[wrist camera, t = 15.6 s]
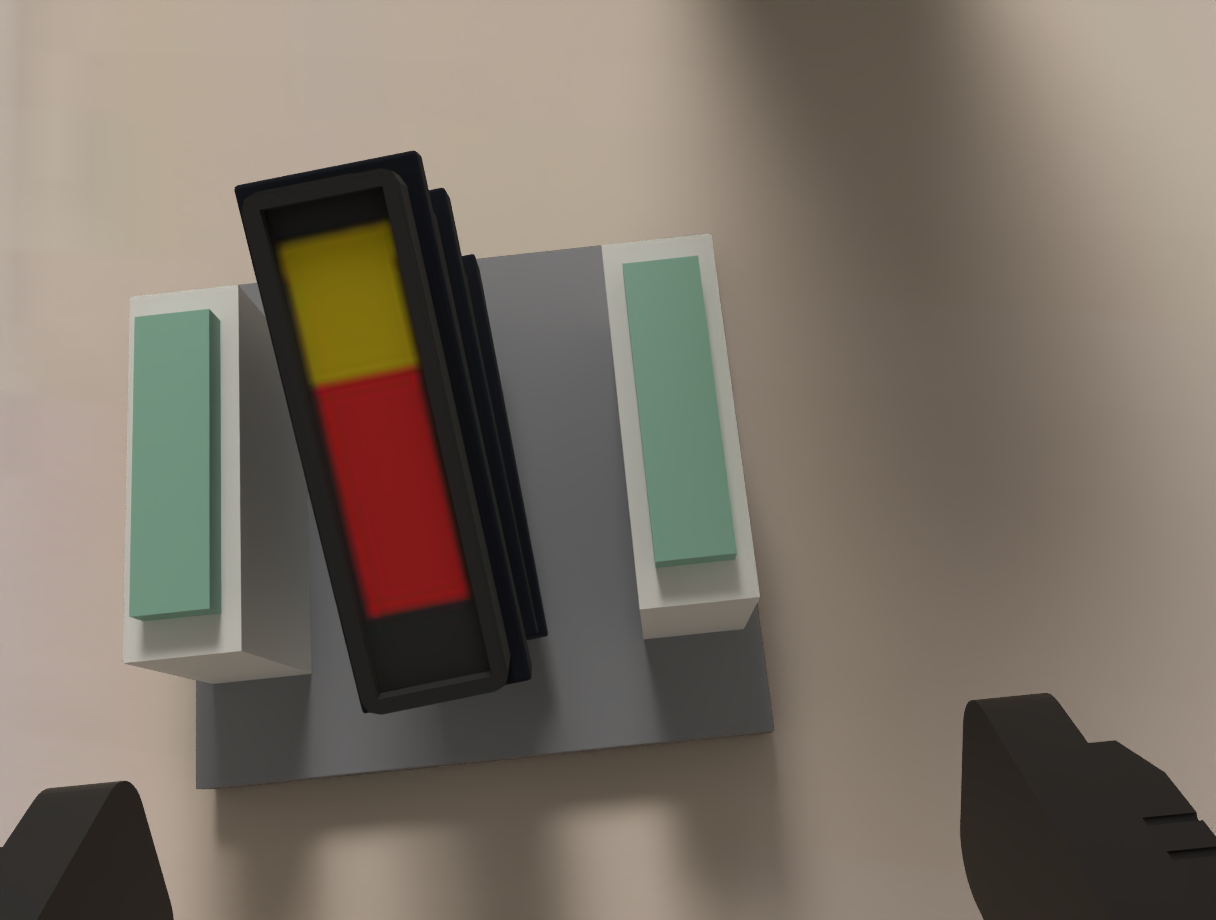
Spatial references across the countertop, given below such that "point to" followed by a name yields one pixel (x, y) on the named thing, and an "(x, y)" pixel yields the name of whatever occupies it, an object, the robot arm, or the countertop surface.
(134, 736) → the countertop surface
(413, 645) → the magazine
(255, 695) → the mounting plate
